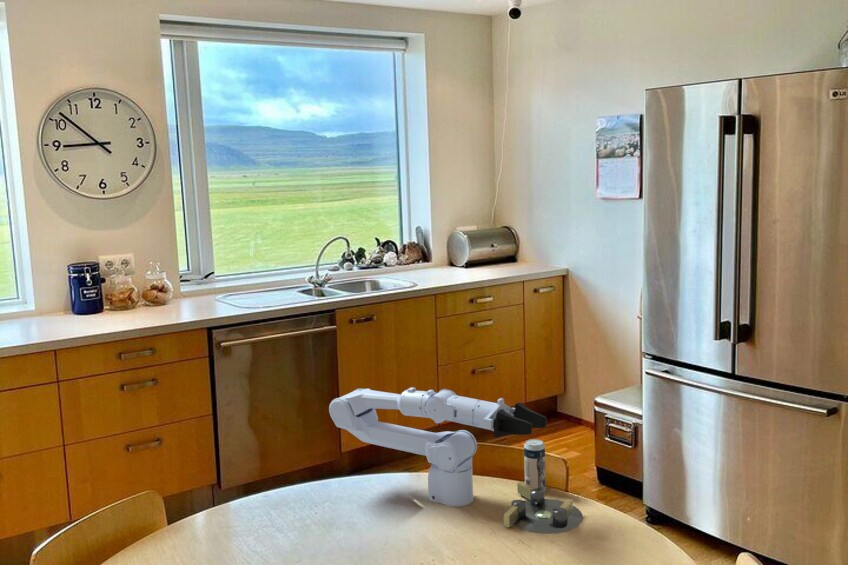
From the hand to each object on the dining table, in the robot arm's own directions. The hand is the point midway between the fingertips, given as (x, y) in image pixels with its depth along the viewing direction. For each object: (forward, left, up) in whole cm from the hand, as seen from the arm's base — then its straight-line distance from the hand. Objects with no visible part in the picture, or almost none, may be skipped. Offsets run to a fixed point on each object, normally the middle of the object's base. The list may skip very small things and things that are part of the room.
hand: (538, 425), depth 155 cm
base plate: (0, +1, -21) cm, 21 cm away
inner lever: (-4, -4, -20) cm, 20 cm away
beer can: (-6, +13, -21) cm, 26 cm away
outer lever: (+5, +1, -20) cm, 20 cm away
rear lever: (-5, +7, -20) cm, 21 cm away
